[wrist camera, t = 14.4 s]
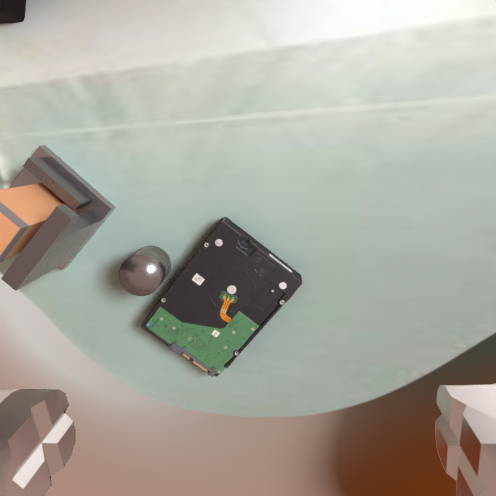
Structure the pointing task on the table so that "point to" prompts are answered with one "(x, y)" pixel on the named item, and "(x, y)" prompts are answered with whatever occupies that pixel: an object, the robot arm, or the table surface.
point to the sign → (12, 11)
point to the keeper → (57, 218)
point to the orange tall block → (24, 215)
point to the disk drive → (222, 298)
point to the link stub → (145, 270)
